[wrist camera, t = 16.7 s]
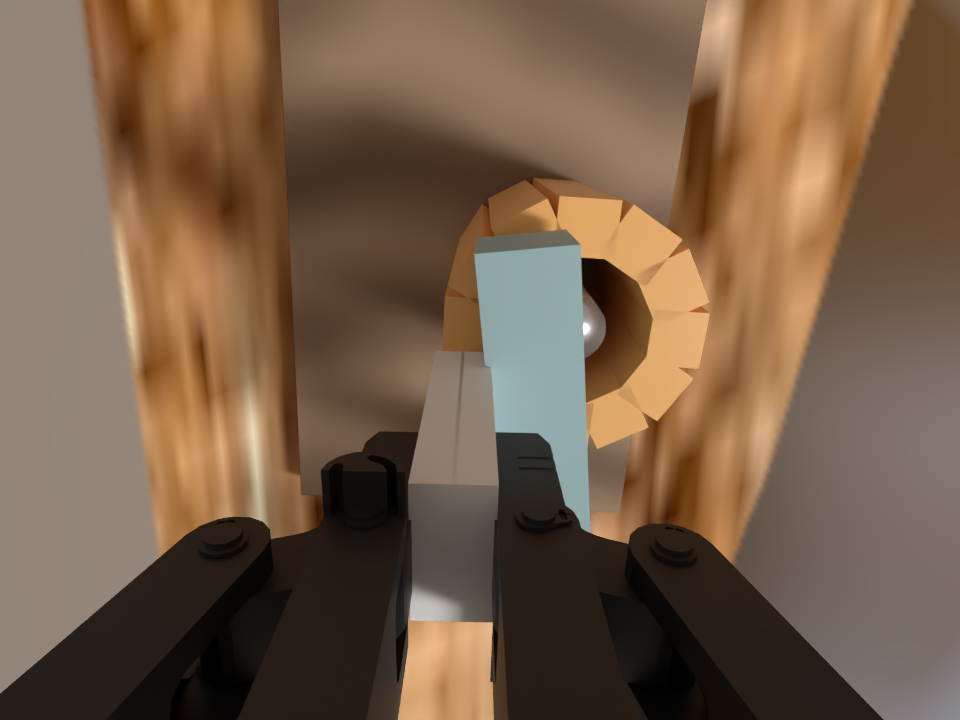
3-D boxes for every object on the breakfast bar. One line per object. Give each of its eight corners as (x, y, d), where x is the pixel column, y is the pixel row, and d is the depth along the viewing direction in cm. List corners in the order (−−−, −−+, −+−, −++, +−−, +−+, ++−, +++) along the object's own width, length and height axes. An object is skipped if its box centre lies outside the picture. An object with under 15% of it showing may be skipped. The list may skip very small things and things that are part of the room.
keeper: (594, 628, 20) (608, 692, 18) (501, 635, 20) (503, 698, 18) (581, 227, 16) (598, 242, 13) (460, 239, 16) (456, 255, 13)
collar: (618, 358, 27) (680, 456, 18) (452, 348, 27) (438, 441, 18) (645, 185, 24) (731, 207, 16) (461, 173, 24) (449, 188, 16)
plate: (613, 496, 31) (618, 512, 30) (309, 478, 31) (301, 494, 30) (732, -231, 21) (750, -258, 19) (279, -266, 21) (264, -297, 19)
